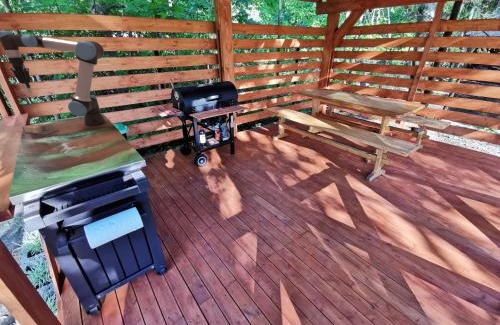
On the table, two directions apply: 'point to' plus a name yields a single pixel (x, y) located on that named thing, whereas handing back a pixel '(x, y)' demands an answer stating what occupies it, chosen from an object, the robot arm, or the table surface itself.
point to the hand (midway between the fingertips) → (29, 92)
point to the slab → (35, 128)
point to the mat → (44, 132)
